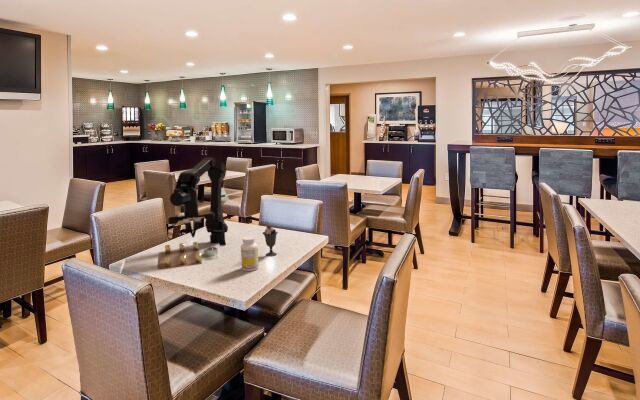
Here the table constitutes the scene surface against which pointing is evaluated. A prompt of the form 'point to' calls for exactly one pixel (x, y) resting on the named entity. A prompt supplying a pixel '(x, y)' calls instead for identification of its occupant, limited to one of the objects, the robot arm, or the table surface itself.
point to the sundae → (270, 239)
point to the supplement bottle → (249, 254)
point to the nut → (210, 251)
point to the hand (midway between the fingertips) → (193, 237)
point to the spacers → (182, 257)
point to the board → (177, 261)
